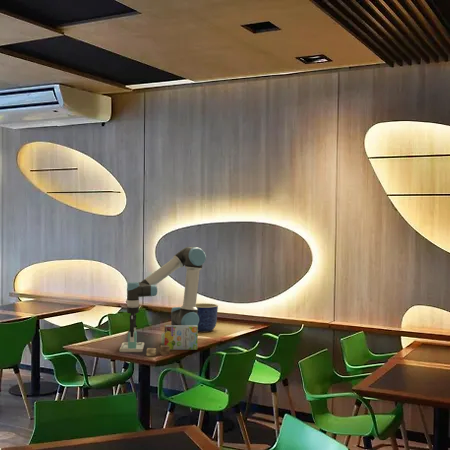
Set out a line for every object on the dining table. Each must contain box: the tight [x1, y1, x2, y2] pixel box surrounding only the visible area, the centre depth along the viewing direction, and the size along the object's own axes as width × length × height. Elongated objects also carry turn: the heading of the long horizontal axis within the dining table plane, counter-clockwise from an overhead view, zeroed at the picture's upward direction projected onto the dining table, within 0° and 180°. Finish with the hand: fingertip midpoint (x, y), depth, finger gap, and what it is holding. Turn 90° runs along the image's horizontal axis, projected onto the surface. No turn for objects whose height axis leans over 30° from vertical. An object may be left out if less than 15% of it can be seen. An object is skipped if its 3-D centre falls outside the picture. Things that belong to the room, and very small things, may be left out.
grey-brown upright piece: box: [160, 332, 165, 345], centre depth 407 cm, size 6×6×7 cm
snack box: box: [164, 324, 199, 351], centre depth 394 cm, size 21×6×15 cm, turn 92°
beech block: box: [146, 347, 157, 357], centre depth 375 cm, size 5×4×4 cm
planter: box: [196, 302, 219, 333], centre depth 460 cm, size 21×21×19 cm
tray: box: [119, 341, 145, 353], centre depth 392 cm, size 14×20×2 cm
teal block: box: [127, 330, 138, 349], centre depth 392 cm, size 5×5×10 cm
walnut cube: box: [159, 345, 171, 356], centre depth 378 cm, size 5×5×5 cm
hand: (132, 339), depth 392 cm, fingers open, 13 cm apart
